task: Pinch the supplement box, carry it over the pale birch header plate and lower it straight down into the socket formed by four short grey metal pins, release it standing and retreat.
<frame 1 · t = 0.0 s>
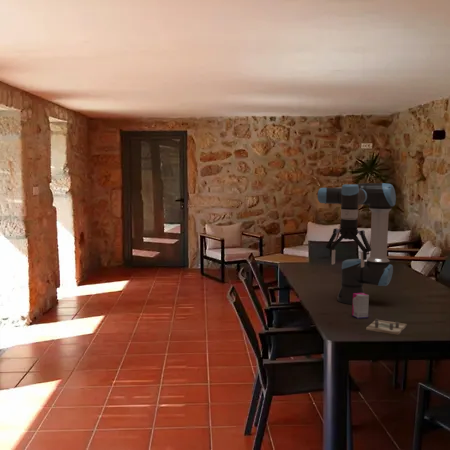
hand: (347, 265, 243), 28 cm above the table, fingers open, 13 cm apart
supplement box: (359, 317, 262), on the table
header plate: (386, 327, 243), on the table
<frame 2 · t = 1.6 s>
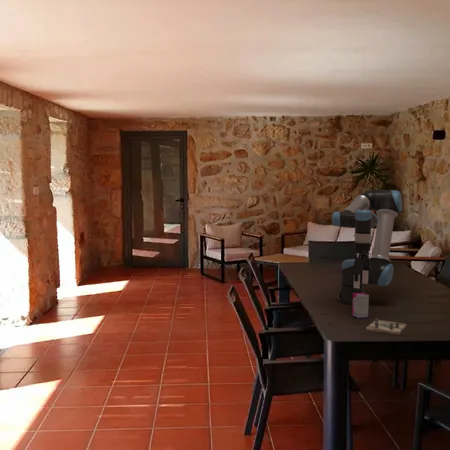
hand: (360, 285, 260), 15 cm above the table, fingers open, 13 cm apart
nothing on the table moved.
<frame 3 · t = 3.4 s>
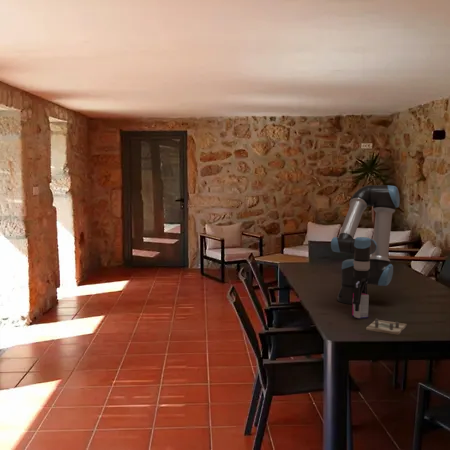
hand: (359, 315, 262), 1 cm above the table, fingers closed on supplement box, 8 cm apart
supplement box: (359, 317, 262), on the table, touching gripper
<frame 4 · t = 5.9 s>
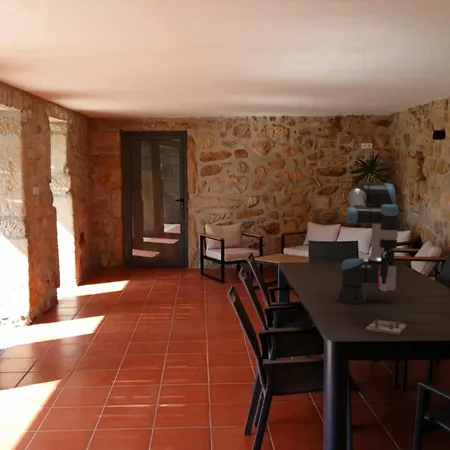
hand: (386, 289, 242), 18 cm above the table, fingers closed on supplement box, 8 cm apart
supplement box: (386, 291, 242), point 17 cm above the table, touching gripper
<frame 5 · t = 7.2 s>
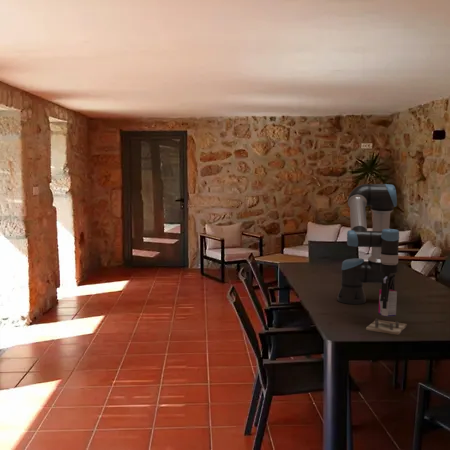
hand: (387, 313, 243), 7 cm above the table, fingers closed on supplement box, 8 cm apart
supplement box: (387, 315, 243), point 6 cm above the table, touching gripper
when the fingers open (3 cm above the table, at t = 8.3 s): supplement box drops 1 cm, resting on header plate.
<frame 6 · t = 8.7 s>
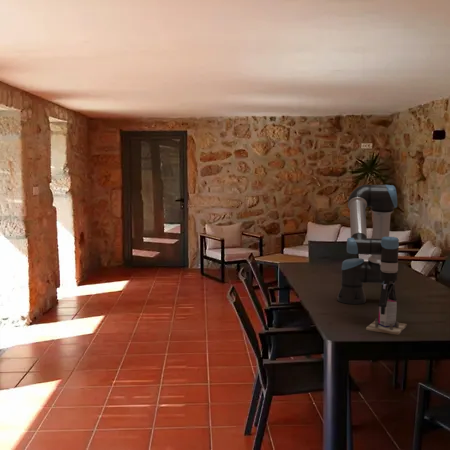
hand: (387, 317, 243), 5 cm above the table, fingers open, 13 cm apart
supplement box: (386, 325, 244), point 1 cm above the table, touching header plate
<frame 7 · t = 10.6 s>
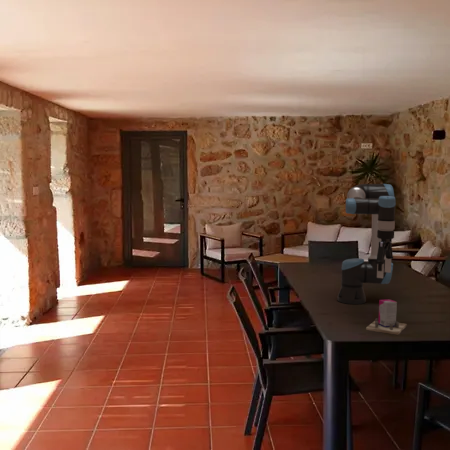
hand: (383, 275, 250), 23 cm above the table, fingers open, 13 cm apart
nothing on the table moved.
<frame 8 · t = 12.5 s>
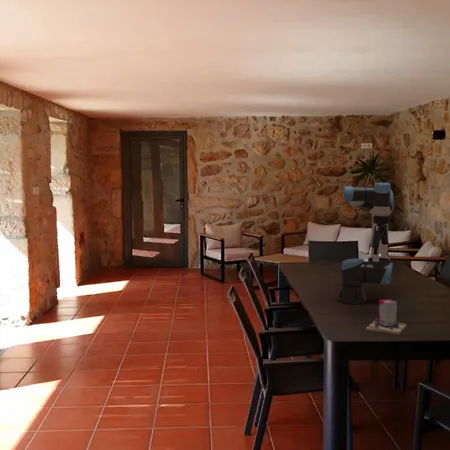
hand: (379, 259, 257), 29 cm above the table, fingers open, 13 cm apart
nothing on the table moved.
at the end: supplement box 0.3 cm off-centre on the header plate, point 0.9 cm above the header plate's base; supplement box tilted 0°; the gripper is holding nothing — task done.
